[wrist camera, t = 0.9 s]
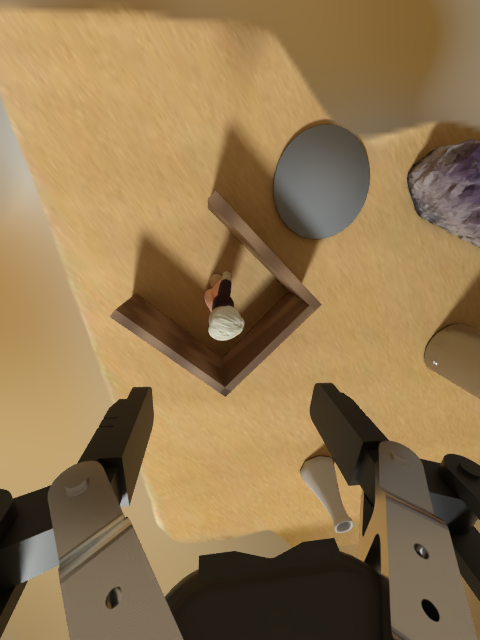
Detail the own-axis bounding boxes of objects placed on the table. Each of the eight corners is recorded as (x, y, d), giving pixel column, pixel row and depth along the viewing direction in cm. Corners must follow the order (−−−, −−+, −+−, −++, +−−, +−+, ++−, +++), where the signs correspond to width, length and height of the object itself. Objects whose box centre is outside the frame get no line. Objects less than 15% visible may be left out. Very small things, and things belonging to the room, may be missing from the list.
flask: (335, 452, 45) (369, 508, 35) (331, 477, 47) (361, 536, 38) (300, 457, 44) (325, 516, 35) (298, 482, 46) (320, 544, 37)
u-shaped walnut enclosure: (298, 290, 32) (321, 304, 26) (222, 366, 35) (225, 396, 28) (213, 201, 27) (215, 190, 20) (131, 298, 29) (109, 316, 23)
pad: (378, 134, 27) (381, 132, 26) (353, 241, 31) (356, 241, 30) (279, 119, 25) (281, 116, 24) (267, 235, 29) (269, 235, 28)
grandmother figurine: (200, 267, 29) (195, 287, 17) (230, 264, 30) (244, 283, 18) (207, 322, 32) (207, 372, 20) (234, 319, 32) (249, 367, 20)
